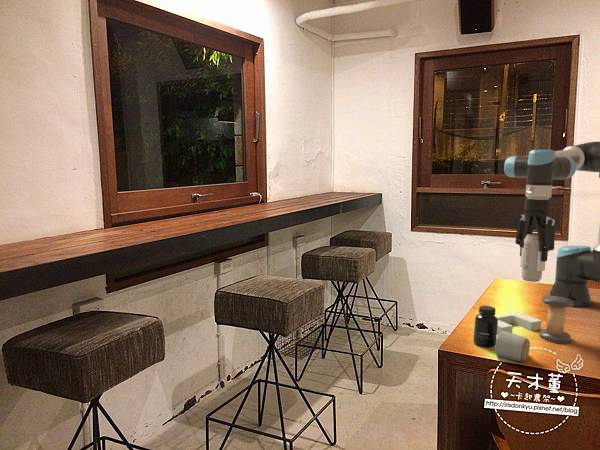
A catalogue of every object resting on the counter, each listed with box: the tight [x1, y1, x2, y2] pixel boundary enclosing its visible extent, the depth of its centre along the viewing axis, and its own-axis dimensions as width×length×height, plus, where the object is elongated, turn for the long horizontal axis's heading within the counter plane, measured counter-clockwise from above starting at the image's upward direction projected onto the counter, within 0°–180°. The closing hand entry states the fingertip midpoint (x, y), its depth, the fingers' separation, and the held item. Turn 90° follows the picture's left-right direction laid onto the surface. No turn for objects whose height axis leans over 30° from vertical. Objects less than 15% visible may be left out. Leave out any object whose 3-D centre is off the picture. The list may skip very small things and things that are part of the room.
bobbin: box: [539, 295, 574, 344], centre depth 162 cm, size 9×9×13 cm
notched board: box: [495, 311, 542, 336], centre depth 172 cm, size 18×10×3 cm, turn 113°
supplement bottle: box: [473, 305, 498, 348], centre depth 157 cm, size 7×7×12 cm
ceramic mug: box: [494, 331, 531, 363], centre depth 147 cm, size 11×8×8 cm
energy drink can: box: [520, 233, 543, 283], centre depth 162 cm, size 6×6×15 cm
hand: (532, 268), depth 162 cm, fingers closed on energy drink can, 6 cm apart
